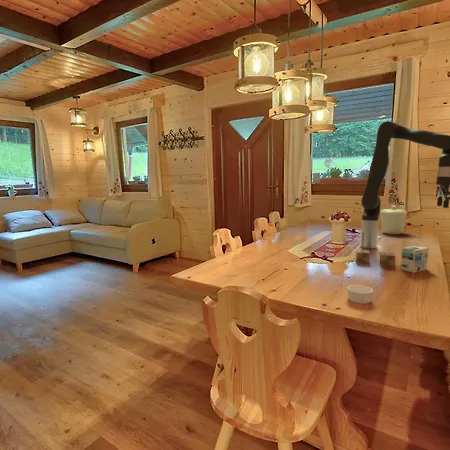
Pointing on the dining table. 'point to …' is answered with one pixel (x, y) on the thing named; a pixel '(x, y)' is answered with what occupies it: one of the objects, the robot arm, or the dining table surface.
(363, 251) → the walnut block two
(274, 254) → the dining table surface
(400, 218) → the canister
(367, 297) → the ramekin
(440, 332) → the dining table surface
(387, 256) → the walnut block one
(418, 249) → the light bulb box
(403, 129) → the robot arm
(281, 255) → the dining table surface
